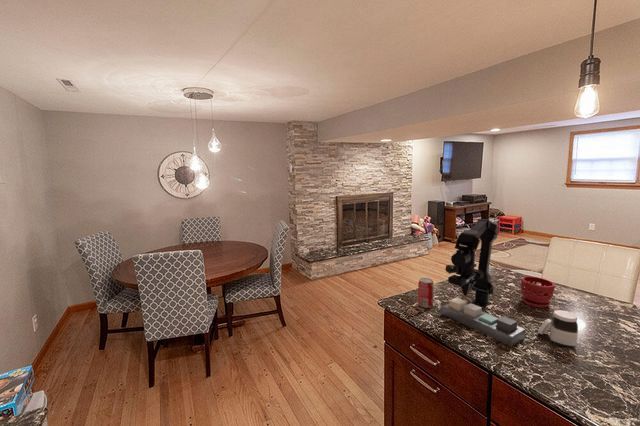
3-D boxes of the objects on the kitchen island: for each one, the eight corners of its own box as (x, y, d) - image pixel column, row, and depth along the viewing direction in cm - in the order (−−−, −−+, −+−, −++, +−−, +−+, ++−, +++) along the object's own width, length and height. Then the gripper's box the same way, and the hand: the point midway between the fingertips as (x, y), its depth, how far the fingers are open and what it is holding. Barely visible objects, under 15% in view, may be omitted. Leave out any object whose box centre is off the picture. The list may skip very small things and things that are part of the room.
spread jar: (577, 352, 107) (581, 322, 105) (539, 343, 113) (542, 314, 111) (571, 337, 117) (575, 309, 115) (536, 329, 123) (539, 302, 121)
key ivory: (456, 306, 138) (456, 297, 138) (466, 310, 134) (466, 301, 133) (449, 309, 136) (449, 300, 135) (459, 313, 131) (459, 304, 131)
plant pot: (523, 307, 142) (525, 283, 141) (516, 296, 154) (518, 274, 153) (556, 312, 137) (559, 287, 136) (547, 300, 150) (549, 277, 148)
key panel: (455, 308, 141) (455, 300, 141) (524, 338, 116) (525, 329, 116) (441, 314, 136) (442, 306, 136) (511, 346, 111) (512, 336, 110)
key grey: (470, 312, 132) (470, 303, 132) (481, 317, 128) (481, 307, 127) (463, 315, 130) (464, 306, 129) (474, 320, 125) (475, 310, 125)
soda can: (434, 309, 141) (435, 283, 139) (418, 308, 143) (419, 282, 141) (431, 303, 148) (432, 278, 146) (416, 301, 149) (417, 277, 148)
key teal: (485, 323, 127) (486, 313, 126) (497, 328, 122) (498, 318, 122) (478, 326, 124) (479, 316, 123) (490, 331, 120) (491, 321, 119)
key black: (502, 326, 120) (503, 316, 120) (516, 331, 116) (517, 321, 116) (496, 329, 118) (497, 319, 117) (509, 335, 114) (510, 325, 113)
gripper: (461, 253, 140) (460, 284, 143) (437, 260, 130) (436, 294, 132) (485, 259, 131) (483, 292, 134) (461, 267, 121) (459, 303, 123)
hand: (465, 295), depth 131 cm, fingers closed
